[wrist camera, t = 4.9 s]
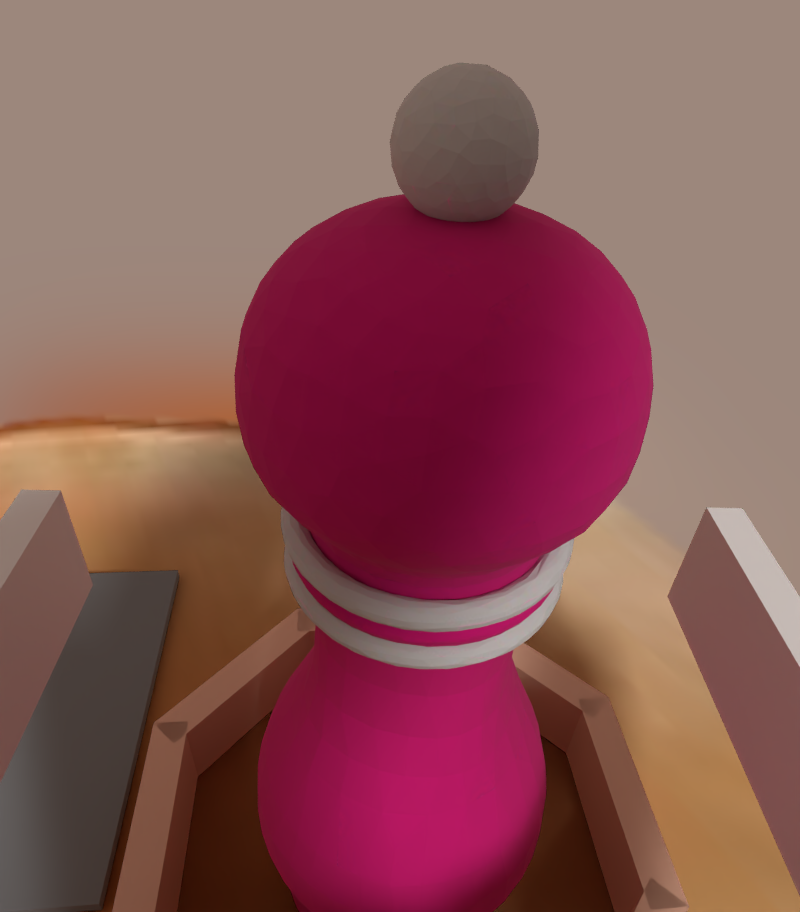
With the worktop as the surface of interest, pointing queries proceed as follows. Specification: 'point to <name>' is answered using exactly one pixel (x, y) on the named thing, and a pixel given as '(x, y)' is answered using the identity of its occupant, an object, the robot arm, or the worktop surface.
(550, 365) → the pepper mill
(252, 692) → the octagonal frame ring
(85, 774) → the mat
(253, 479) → the worktop surface
